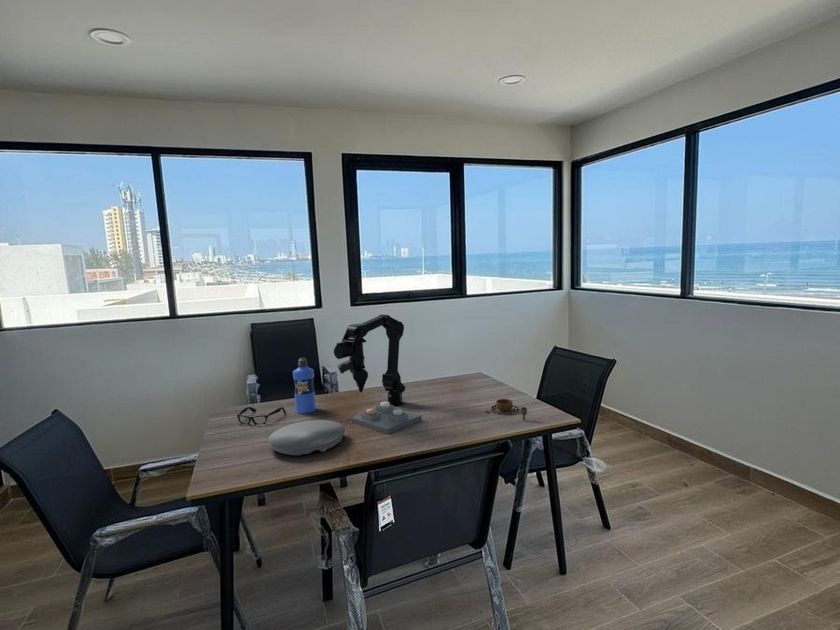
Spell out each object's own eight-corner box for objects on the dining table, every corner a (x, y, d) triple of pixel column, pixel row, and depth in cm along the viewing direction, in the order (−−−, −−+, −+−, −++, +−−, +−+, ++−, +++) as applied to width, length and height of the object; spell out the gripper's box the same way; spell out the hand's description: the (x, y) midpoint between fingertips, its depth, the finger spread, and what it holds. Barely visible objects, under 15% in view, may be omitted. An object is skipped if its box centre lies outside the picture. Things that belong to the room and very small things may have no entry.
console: (386, 409, 206) (385, 401, 205) (421, 419, 191) (421, 410, 190) (351, 422, 191) (351, 413, 191) (387, 434, 176) (386, 424, 176)
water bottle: (313, 413, 204) (309, 359, 202) (293, 414, 205) (289, 360, 202) (318, 407, 214) (315, 355, 211) (298, 407, 214) (295, 356, 211)
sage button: (397, 413, 190) (397, 408, 190) (404, 414, 187) (404, 410, 187) (391, 415, 187) (390, 411, 187) (397, 417, 185) (397, 412, 184)
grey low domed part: (315, 425, 189) (314, 415, 189) (361, 440, 171) (360, 429, 171) (254, 449, 168) (253, 437, 167) (299, 468, 150) (298, 455, 150)
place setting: (523, 407, 204) (523, 394, 203) (529, 423, 184) (529, 409, 183) (484, 407, 206) (484, 395, 205) (486, 423, 186) (485, 409, 185)
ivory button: (385, 405, 201) (385, 401, 201) (391, 407, 198) (391, 402, 198) (378, 407, 198) (378, 403, 198) (385, 409, 196) (384, 404, 195)
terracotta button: (371, 412, 192) (371, 407, 192) (377, 414, 190) (377, 409, 190) (364, 414, 190) (364, 410, 189) (370, 416, 187) (370, 412, 187)
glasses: (233, 427, 194) (232, 416, 193) (254, 411, 212) (253, 401, 211) (269, 427, 192) (268, 416, 191) (287, 412, 209) (286, 401, 208)
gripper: (336, 351, 200) (339, 385, 203) (339, 360, 183) (342, 397, 185) (361, 349, 203) (363, 382, 205) (366, 357, 185) (369, 394, 187)
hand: (359, 389), depth 196 cm, fingers open, 9 cm apart
